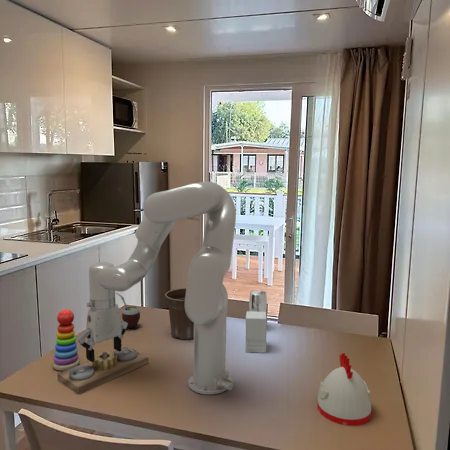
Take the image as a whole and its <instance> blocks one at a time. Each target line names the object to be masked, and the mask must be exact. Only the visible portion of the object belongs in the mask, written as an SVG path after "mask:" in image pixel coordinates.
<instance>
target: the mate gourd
mask: <svg viewBox="0 0 450 450" xmlns="http://www.w3.org/2000/svg"><path fill="white" fill-rule="evenodd" d="M115 295H118V296H119V297H120V298H121V300H122V303H123V304H124V309H123V310H122V314H121V320H122V321H124V322H127V323H128V325H127V328H126V331H128V330H130V329H133V330H138V323H139V321H140V319H141V318H140V317H141V313H140V309H139V308H138V307H137V306H133V305H132V306H127V303H126V301H125V298H124V297H123V296H122V295H121V294H119V293H118V292H115Z"/></svg>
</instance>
